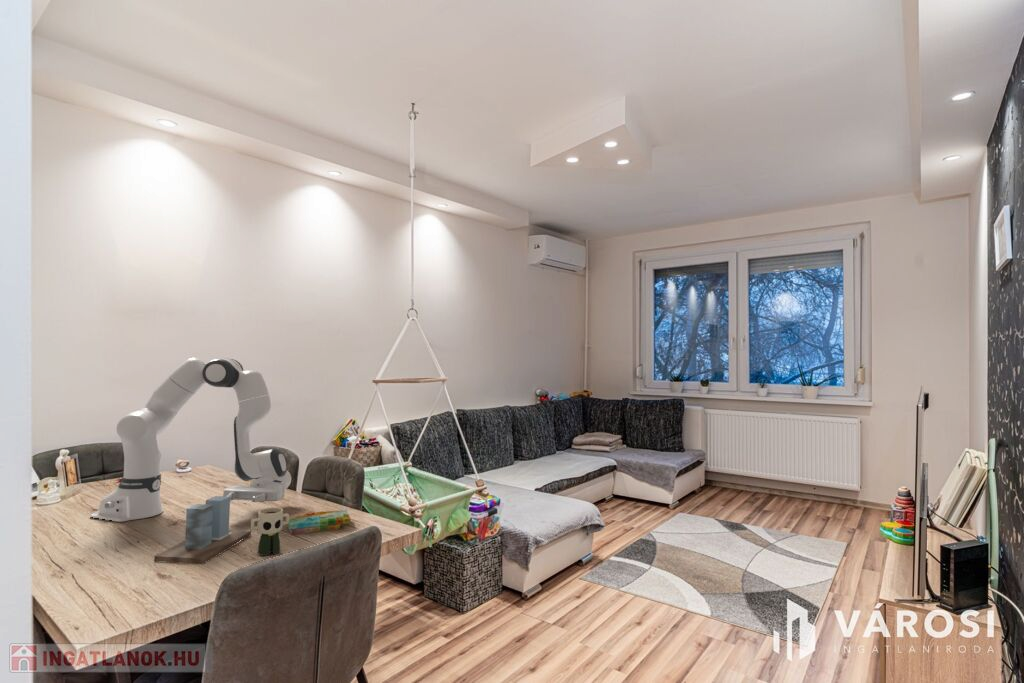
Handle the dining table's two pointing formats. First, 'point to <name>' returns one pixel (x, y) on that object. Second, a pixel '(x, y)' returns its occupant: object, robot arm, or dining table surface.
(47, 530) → the dining table surface
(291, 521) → the puzzle game
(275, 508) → the character mug
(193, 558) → the base board
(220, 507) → the pillar block
